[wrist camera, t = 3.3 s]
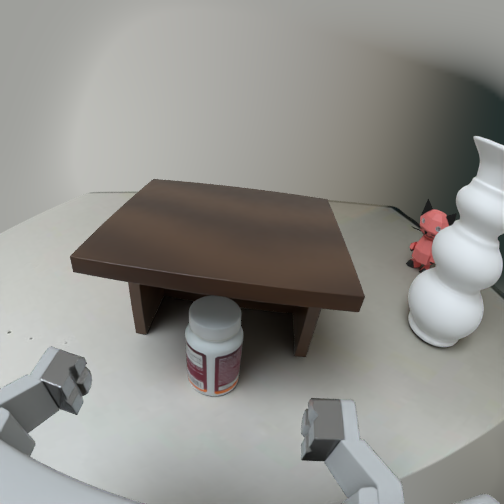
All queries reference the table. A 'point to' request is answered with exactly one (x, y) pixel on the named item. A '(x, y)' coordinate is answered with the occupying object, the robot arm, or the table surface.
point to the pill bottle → (214, 345)
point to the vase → (463, 257)
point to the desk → (226, 252)
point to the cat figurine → (428, 236)
